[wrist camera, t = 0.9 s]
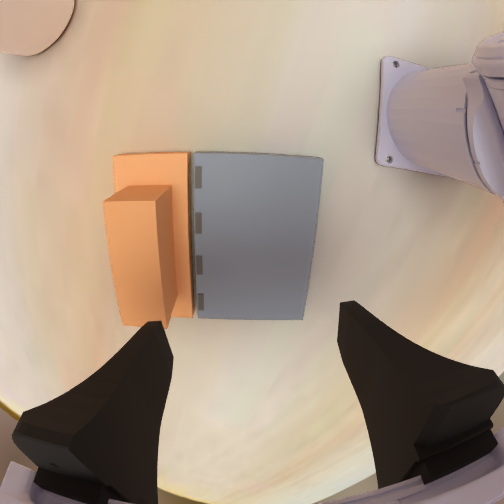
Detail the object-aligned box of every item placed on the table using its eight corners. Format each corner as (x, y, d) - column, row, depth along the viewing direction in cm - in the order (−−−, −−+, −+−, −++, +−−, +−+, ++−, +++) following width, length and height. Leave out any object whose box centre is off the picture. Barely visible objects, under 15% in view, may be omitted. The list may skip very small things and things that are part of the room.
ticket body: (318, 157, 19) (324, 159, 18) (300, 310, 24) (303, 320, 23) (196, 151, 19) (193, 153, 18) (199, 309, 24) (197, 318, 22)
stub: (190, 151, 19) (173, 161, 14) (194, 309, 23) (185, 353, 19) (119, 154, 18) (84, 165, 14) (134, 306, 23) (115, 346, 19)
